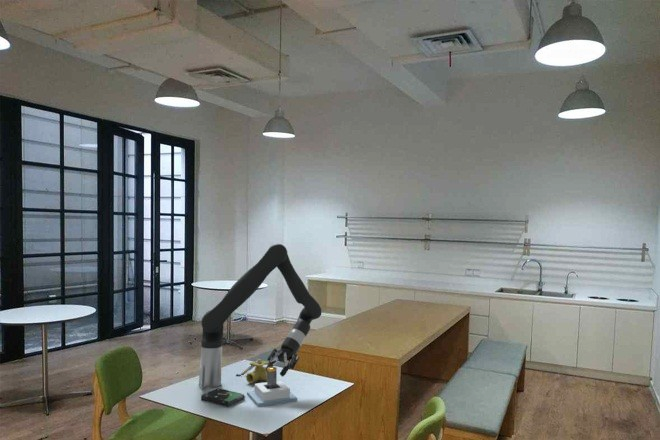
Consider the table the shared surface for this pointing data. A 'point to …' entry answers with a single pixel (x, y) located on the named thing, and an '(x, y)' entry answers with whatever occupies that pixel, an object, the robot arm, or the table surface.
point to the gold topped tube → (271, 377)
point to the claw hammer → (246, 370)
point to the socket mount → (271, 394)
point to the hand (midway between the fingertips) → (274, 373)
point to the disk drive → (223, 397)
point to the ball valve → (257, 371)
